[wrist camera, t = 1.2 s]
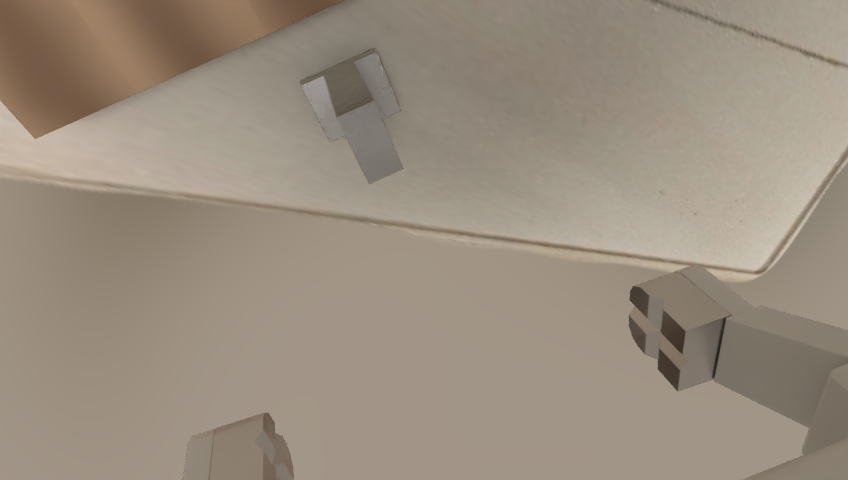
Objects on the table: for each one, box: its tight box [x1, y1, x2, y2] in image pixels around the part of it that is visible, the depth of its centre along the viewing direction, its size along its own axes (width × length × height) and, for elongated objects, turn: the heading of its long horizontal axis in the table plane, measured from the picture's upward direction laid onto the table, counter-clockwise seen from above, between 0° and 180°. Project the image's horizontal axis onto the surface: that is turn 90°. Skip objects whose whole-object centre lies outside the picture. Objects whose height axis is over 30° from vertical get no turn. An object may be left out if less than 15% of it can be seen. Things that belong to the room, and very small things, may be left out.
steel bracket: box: [300, 48, 404, 184], centre depth 30 cm, size 5×4×8 cm
